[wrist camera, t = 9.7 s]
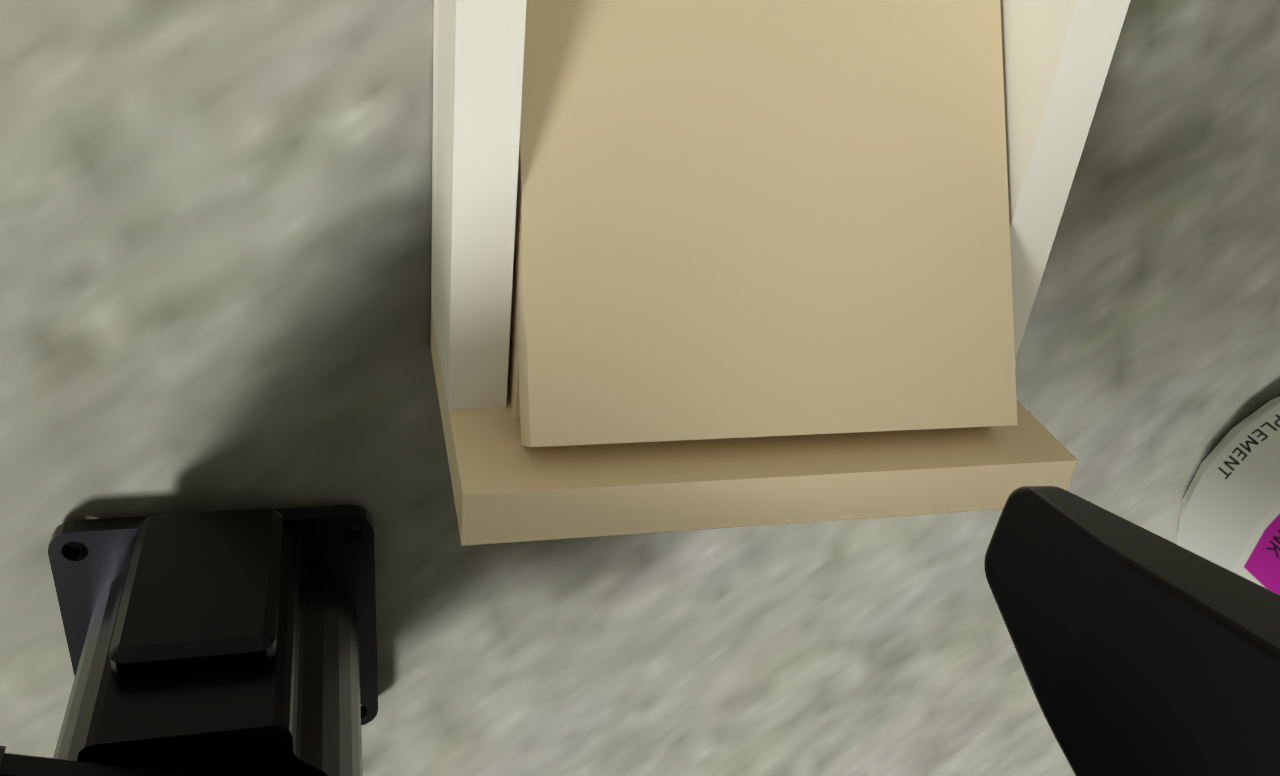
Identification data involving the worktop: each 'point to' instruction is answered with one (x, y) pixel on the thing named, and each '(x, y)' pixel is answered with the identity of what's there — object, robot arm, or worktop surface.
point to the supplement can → (1239, 501)
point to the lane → (746, 255)
